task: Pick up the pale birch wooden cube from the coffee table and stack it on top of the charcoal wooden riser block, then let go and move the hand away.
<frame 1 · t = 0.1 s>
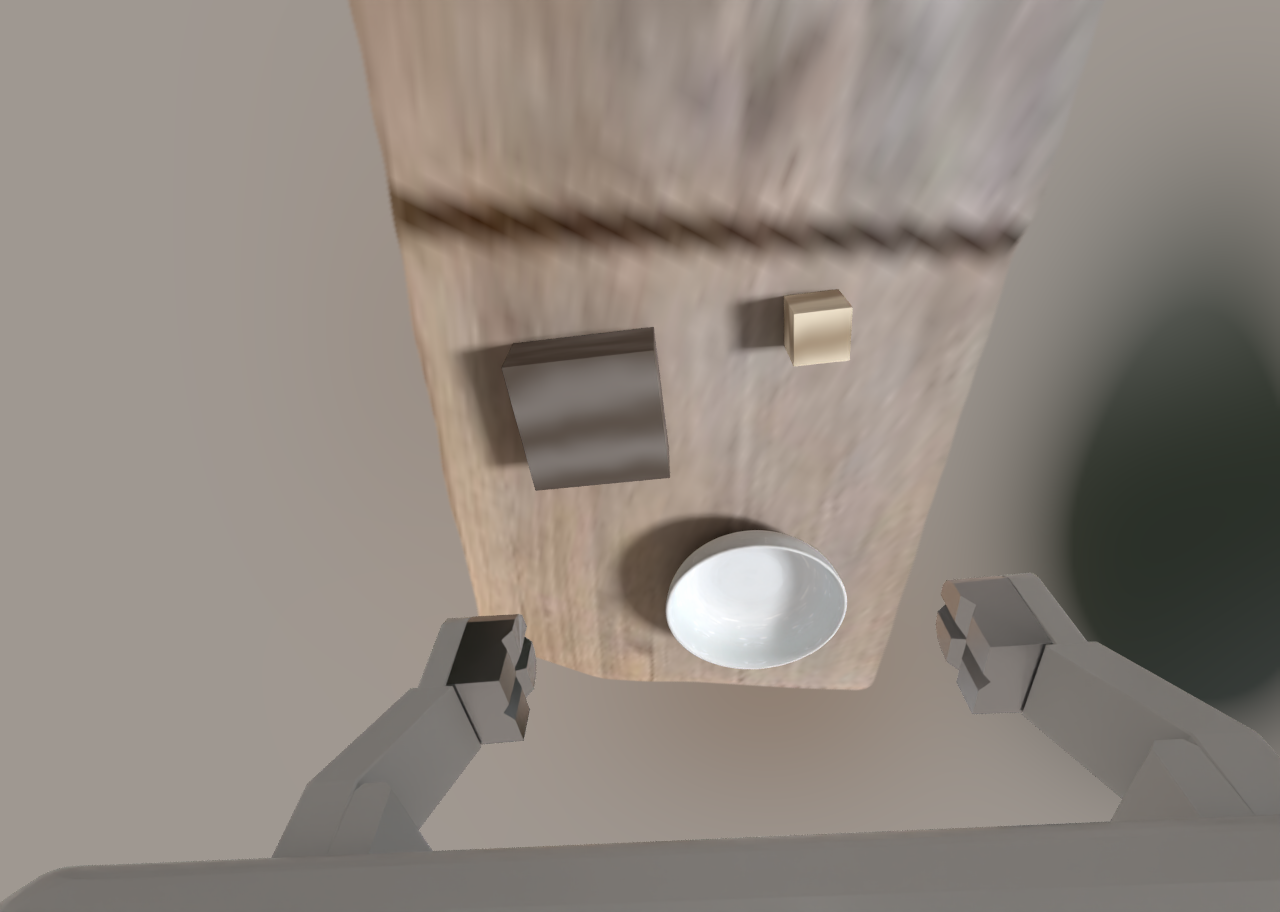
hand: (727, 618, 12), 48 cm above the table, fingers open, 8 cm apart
serving bowl: (747, 570, 77), on the table
birch cube: (810, 317, 58), on the table
charcoal riser block: (595, 396, 64), on the table
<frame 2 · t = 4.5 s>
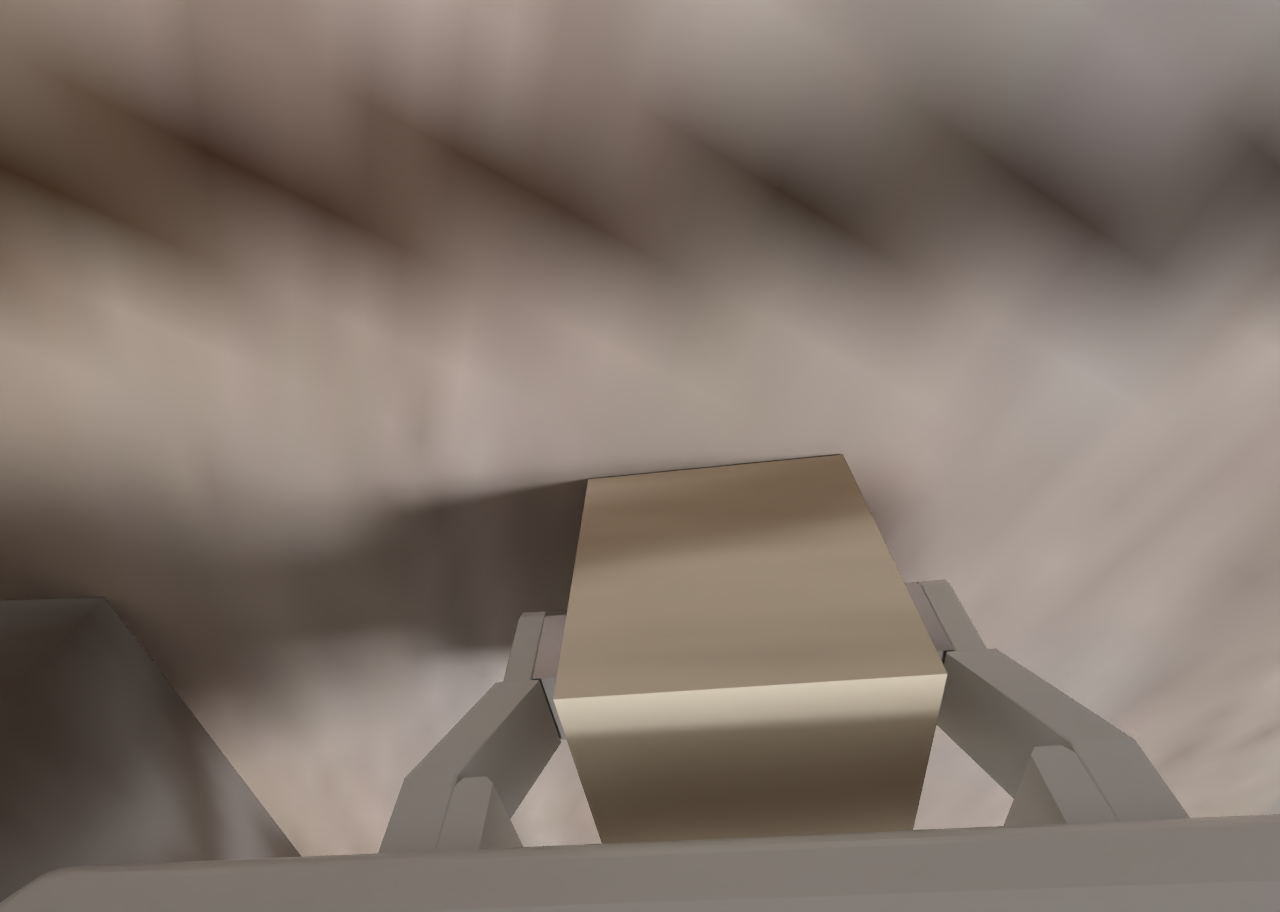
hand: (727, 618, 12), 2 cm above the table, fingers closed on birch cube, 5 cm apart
birch cube: (720, 561, 13), on the table, touching gripper
charcoal riser block: (18, 756, 19), on the table
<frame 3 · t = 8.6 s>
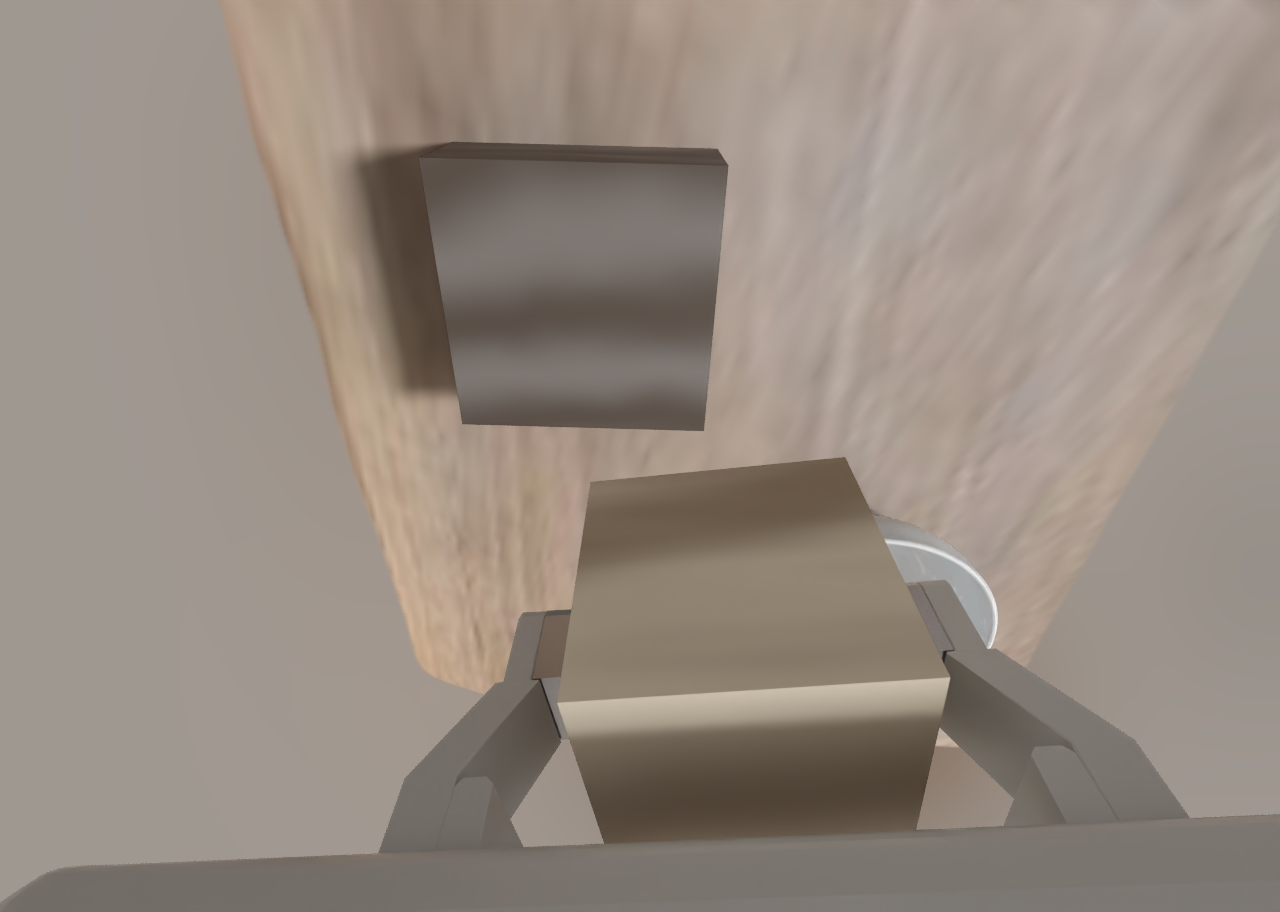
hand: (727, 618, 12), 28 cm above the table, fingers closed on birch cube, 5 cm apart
serving bowl: (822, 578, 50), on the table
birch cube: (722, 563, 13), point 26 cm above the table, touching gripper
charcoal riser block: (589, 275, 36), on the table
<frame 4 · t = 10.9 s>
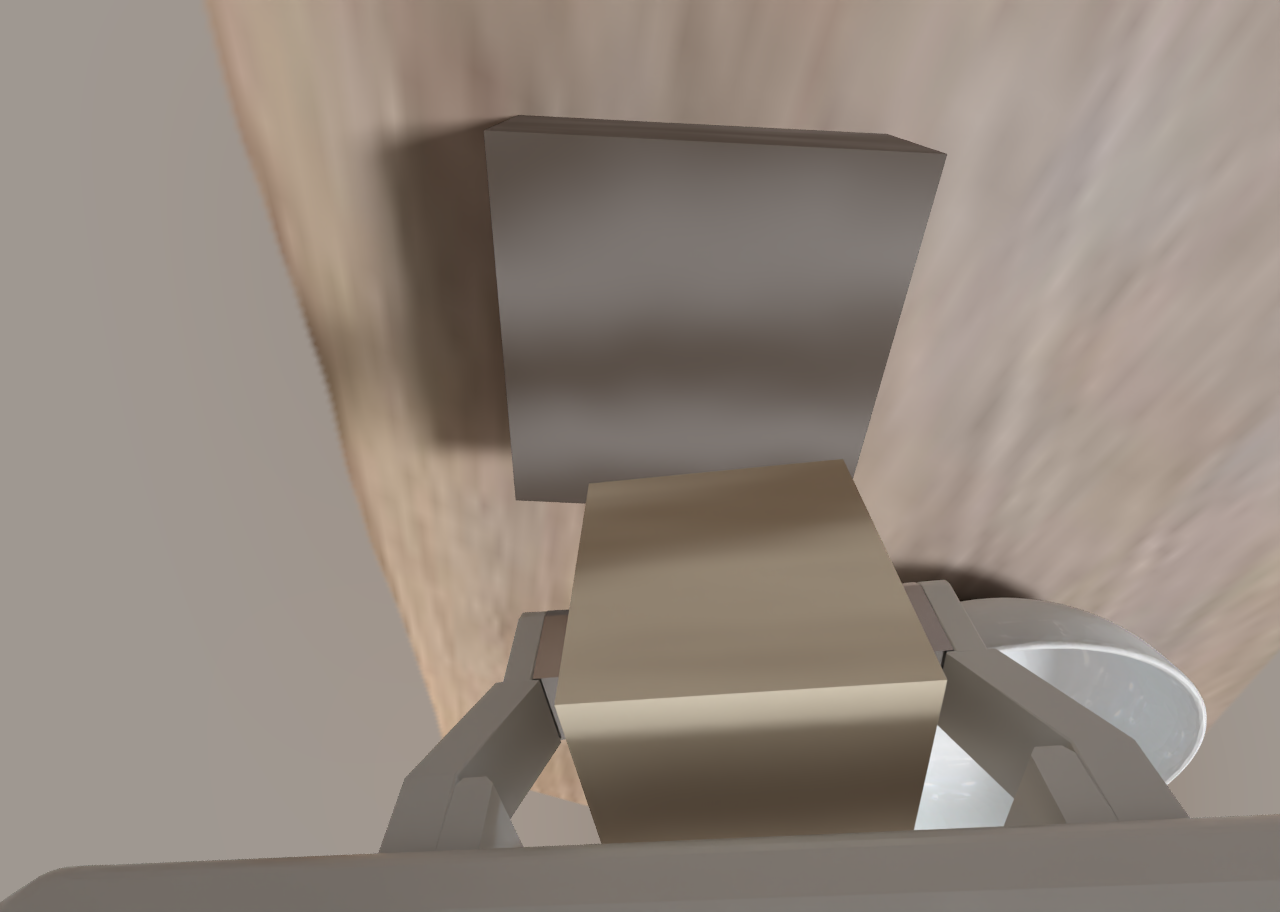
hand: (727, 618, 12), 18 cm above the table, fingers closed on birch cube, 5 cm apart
serving bowl: (947, 663, 40), on the table
birch cube: (721, 564, 13), point 16 cm above the table, touching gripper
charcoal riser block: (687, 301, 27), on the table
when the fingers open (9 cm above the table, at t = 13.0 s): birch cube drops 2 cm, resting on charcoal riser block.
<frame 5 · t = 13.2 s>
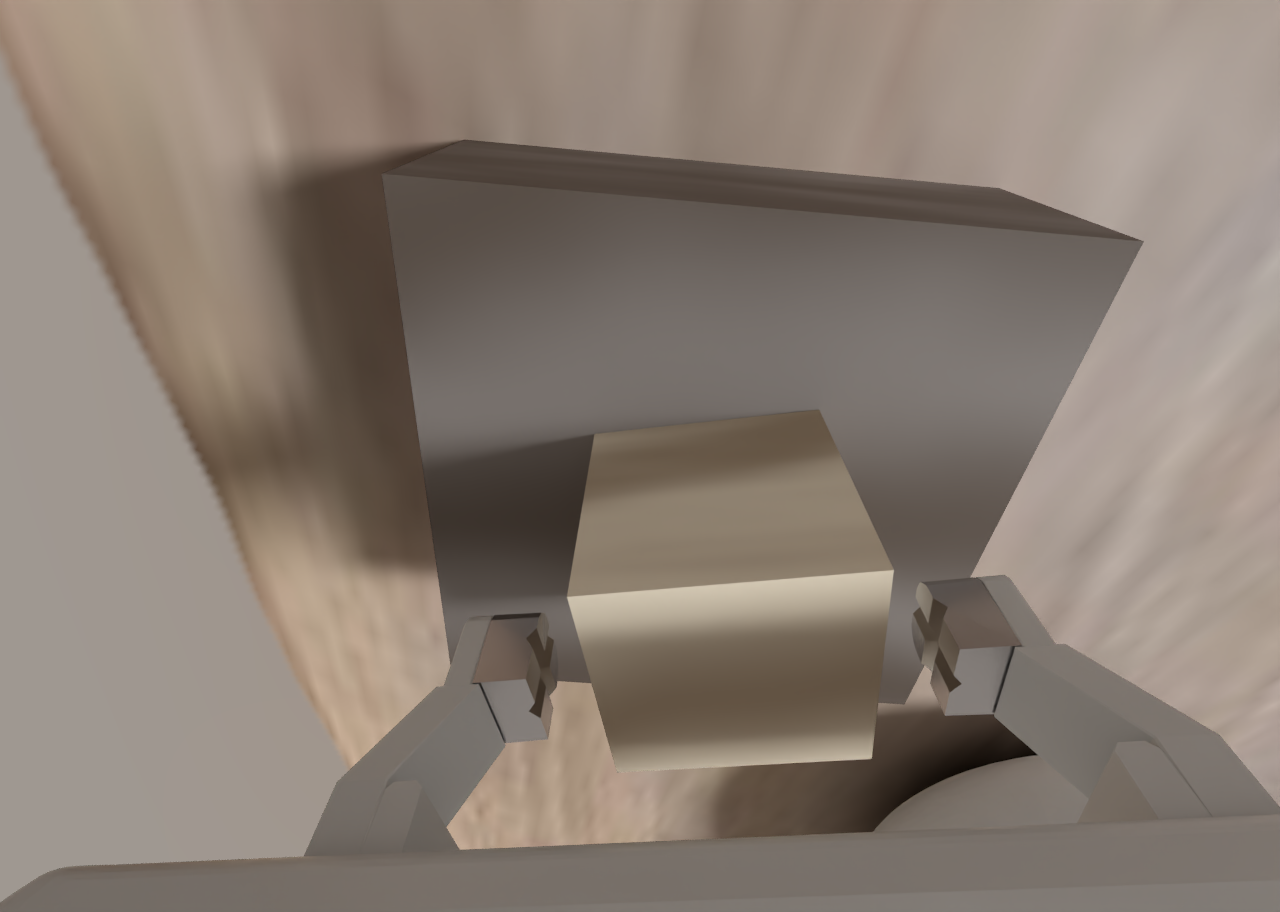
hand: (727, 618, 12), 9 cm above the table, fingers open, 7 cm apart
serving bowl: (1013, 803, 33), on the table
birch cube: (713, 510, 15), point 6 cm above the table, touching charcoal riser block
charcoal riser block: (698, 396, 20), on the table, touching birch cube
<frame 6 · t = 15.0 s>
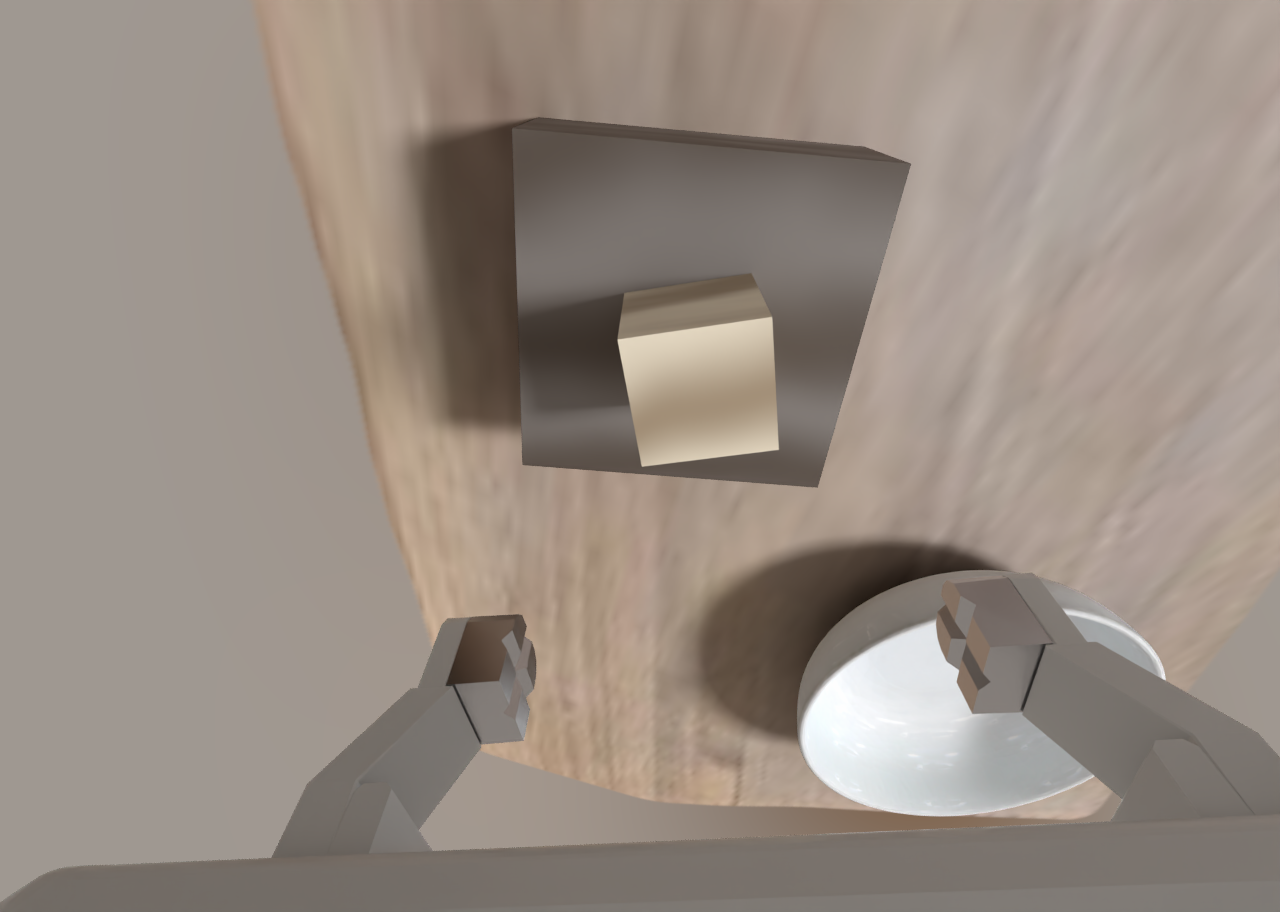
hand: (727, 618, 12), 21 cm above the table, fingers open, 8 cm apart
serving bowl: (929, 638, 43), on the table
birch cube: (694, 342, 25), point 6 cm above the table, touching charcoal riser block
charcoal riser block: (683, 291, 30), on the table, touching birch cube
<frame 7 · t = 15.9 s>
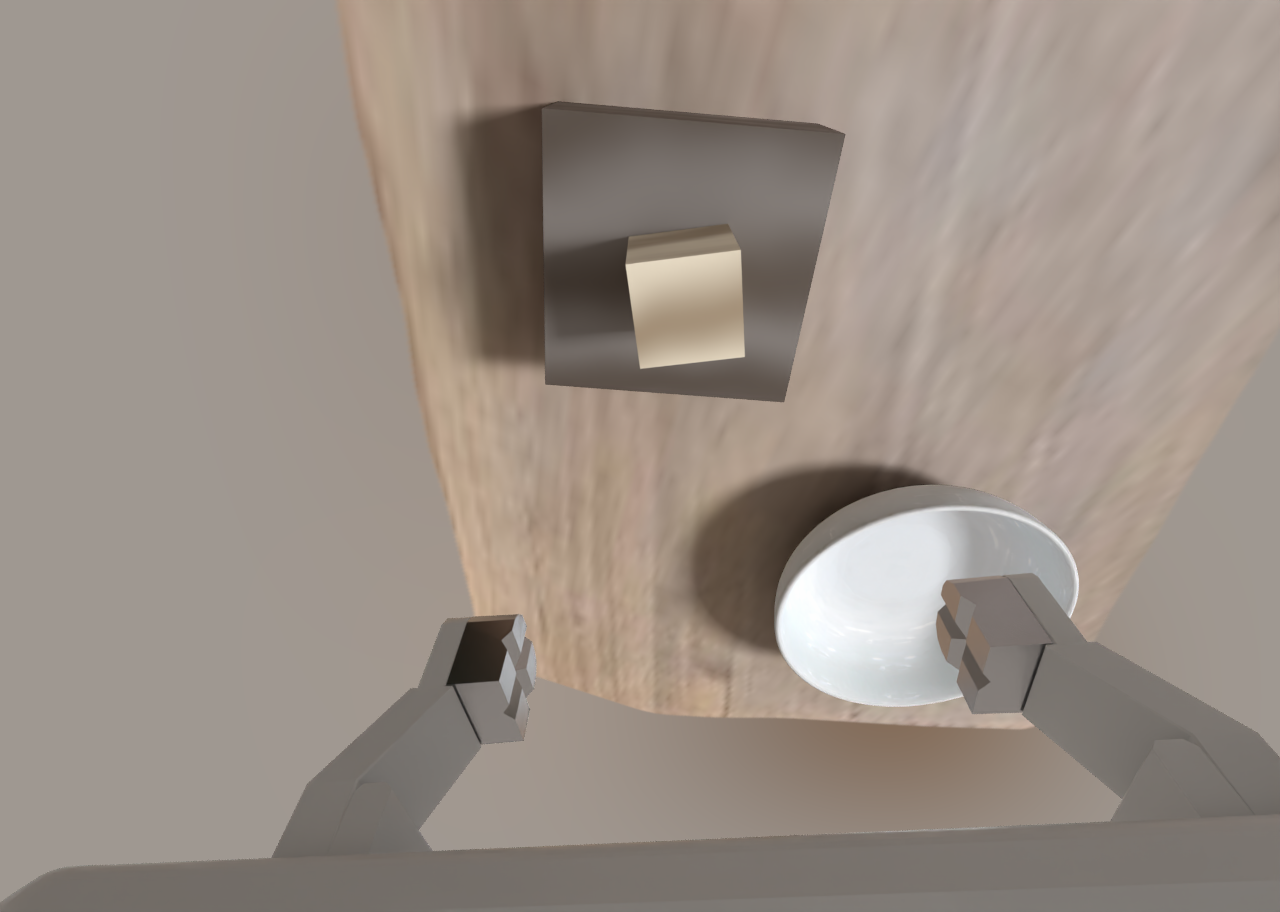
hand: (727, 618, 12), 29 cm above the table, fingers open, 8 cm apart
serving bowl: (890, 554, 50), on the table
birch cube: (682, 279, 32), point 6 cm above the table
charcoal riser block: (674, 244, 37), on the table
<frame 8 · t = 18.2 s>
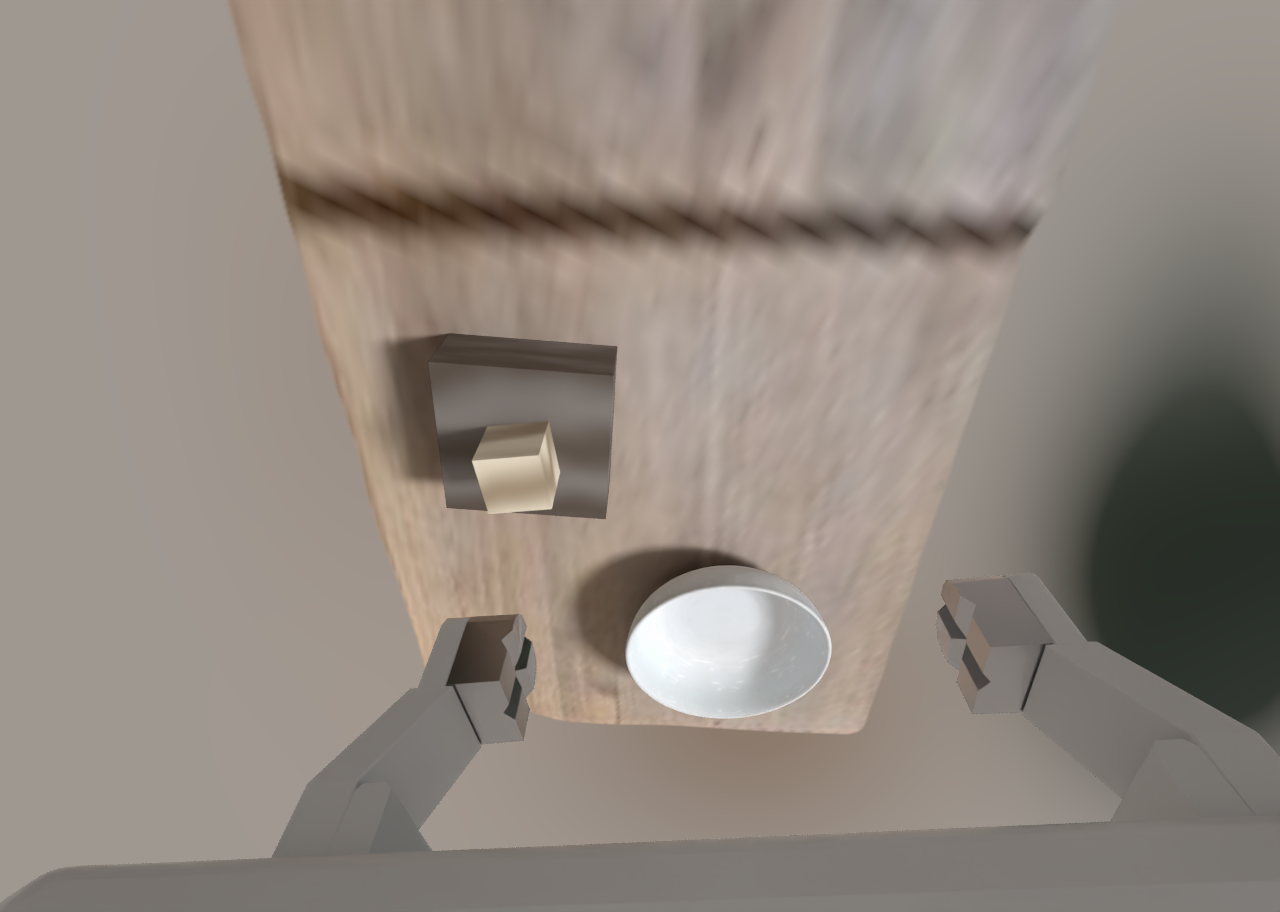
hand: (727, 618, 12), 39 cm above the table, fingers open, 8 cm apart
serving bowl: (721, 607, 68), on the table
birch cube: (524, 449, 50), point 6 cm above the table, touching charcoal riser block
charcoal riser block: (535, 411, 55), on the table, touching birch cube
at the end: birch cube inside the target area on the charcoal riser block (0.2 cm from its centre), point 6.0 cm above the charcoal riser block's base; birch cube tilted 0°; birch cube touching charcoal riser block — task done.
